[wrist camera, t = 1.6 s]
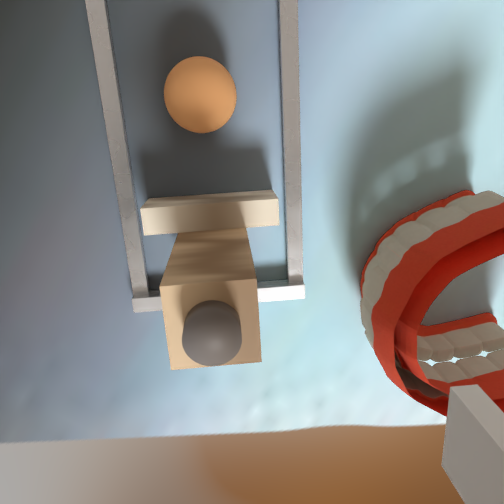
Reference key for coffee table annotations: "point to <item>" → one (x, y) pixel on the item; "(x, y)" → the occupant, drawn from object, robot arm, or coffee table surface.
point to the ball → (200, 94)
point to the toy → (425, 292)
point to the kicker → (210, 275)
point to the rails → (123, 171)
